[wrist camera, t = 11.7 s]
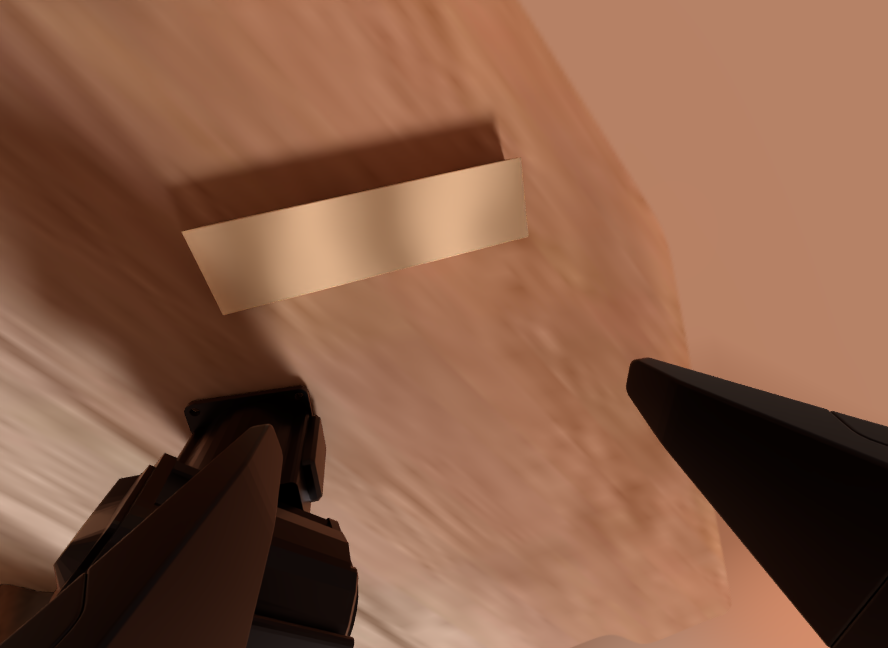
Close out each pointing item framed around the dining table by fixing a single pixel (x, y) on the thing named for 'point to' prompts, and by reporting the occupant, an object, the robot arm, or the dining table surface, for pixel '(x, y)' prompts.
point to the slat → (359, 235)
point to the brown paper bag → (19, 607)
